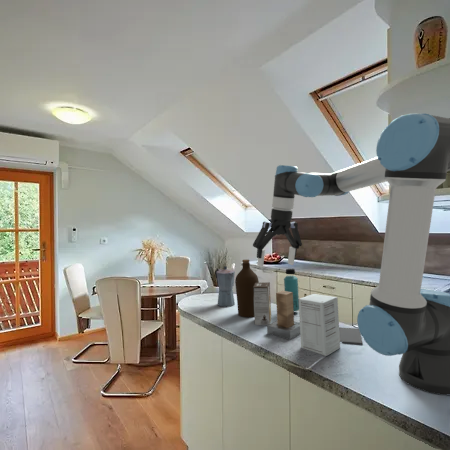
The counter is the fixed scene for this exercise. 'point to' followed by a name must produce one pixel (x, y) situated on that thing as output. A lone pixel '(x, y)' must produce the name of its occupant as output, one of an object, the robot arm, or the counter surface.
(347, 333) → the rubber mat
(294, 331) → the post base
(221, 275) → the moka pot
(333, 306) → the supplement box
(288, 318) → the wooden peg
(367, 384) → the counter surface
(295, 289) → the beverage bottle
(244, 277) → the olive oil
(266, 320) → the coffee box
